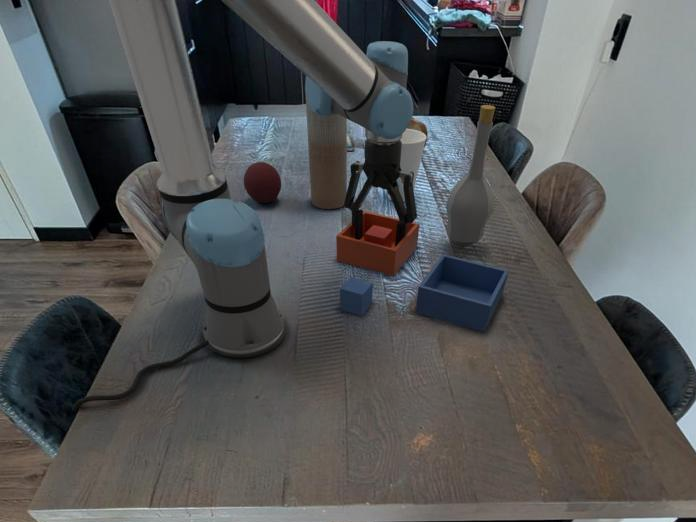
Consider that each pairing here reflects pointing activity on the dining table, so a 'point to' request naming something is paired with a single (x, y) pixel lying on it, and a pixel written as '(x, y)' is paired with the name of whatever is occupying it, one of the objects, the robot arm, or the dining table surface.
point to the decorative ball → (262, 182)
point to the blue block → (356, 296)
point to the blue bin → (461, 292)
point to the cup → (410, 155)
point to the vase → (327, 158)
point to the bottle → (472, 191)
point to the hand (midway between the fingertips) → (378, 243)
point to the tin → (418, 127)
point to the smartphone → (349, 144)
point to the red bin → (376, 245)
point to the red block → (379, 236)
